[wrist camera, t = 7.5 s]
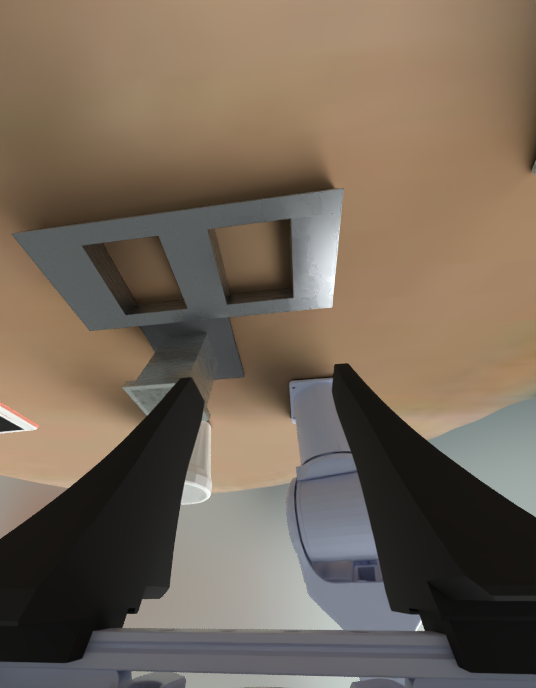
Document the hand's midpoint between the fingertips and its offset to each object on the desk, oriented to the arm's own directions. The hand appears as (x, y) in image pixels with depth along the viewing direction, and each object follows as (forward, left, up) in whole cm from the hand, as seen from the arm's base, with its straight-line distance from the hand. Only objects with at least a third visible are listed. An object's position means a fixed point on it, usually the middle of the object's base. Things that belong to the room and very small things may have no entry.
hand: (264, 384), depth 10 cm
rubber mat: (-6, +8, -10) cm, 15 cm away
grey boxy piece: (-5, +9, -10) cm, 14 cm away
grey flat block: (+3, +5, -10) cm, 12 cm away
